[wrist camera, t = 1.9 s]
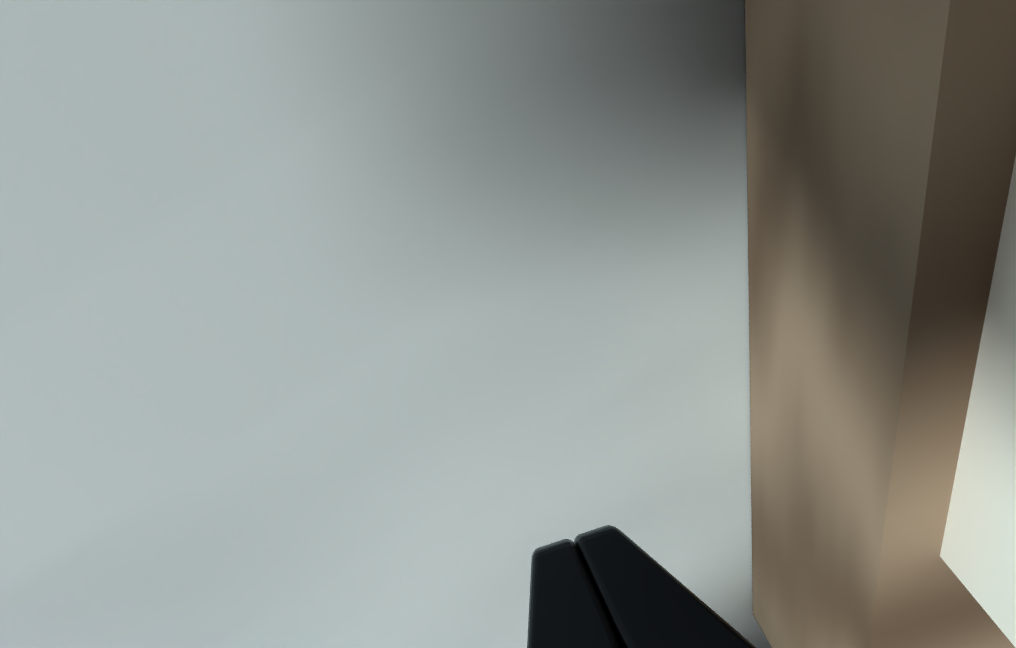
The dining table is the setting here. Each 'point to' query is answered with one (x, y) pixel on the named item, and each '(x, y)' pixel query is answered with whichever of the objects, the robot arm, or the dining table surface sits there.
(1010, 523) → the white box
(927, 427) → the tan flat block
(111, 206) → the dining table surface
